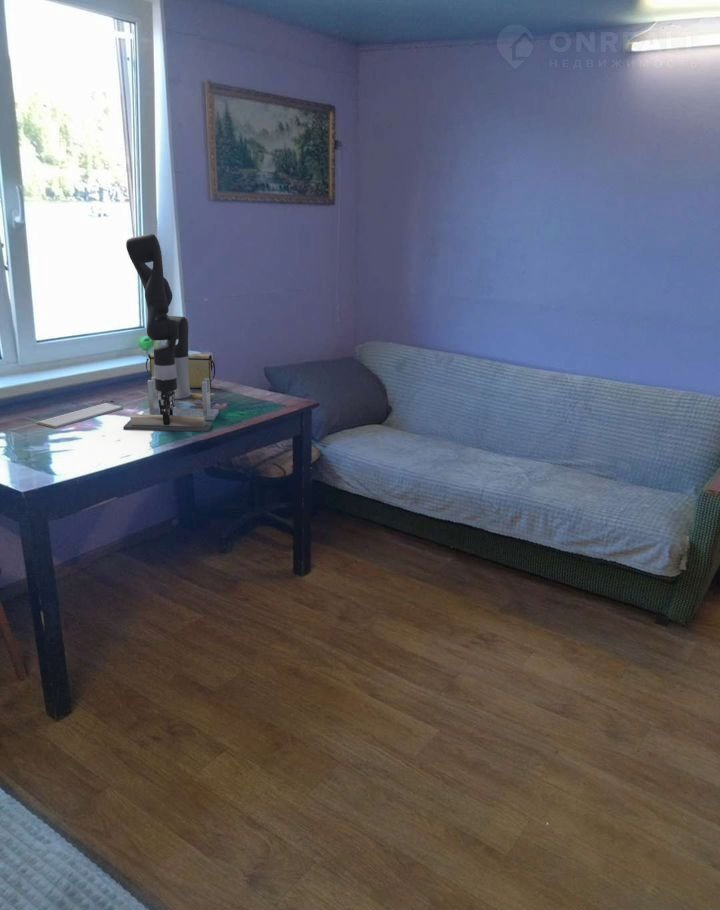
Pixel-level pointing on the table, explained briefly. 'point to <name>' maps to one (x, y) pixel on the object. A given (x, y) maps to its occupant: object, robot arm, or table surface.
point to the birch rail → (174, 420)
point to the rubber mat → (168, 427)
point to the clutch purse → (193, 369)
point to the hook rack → (206, 411)
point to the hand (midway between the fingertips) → (168, 422)
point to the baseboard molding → (80, 415)
